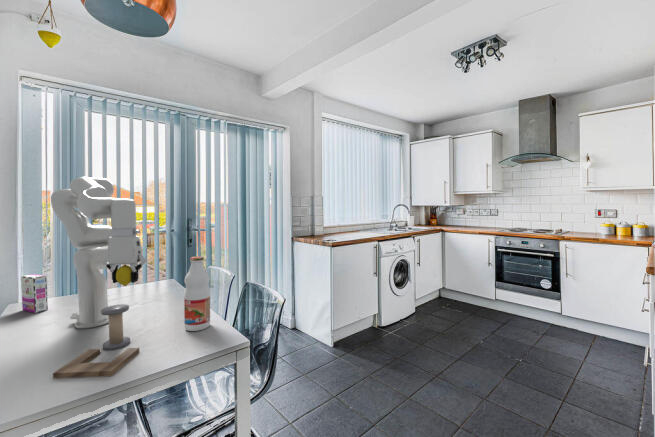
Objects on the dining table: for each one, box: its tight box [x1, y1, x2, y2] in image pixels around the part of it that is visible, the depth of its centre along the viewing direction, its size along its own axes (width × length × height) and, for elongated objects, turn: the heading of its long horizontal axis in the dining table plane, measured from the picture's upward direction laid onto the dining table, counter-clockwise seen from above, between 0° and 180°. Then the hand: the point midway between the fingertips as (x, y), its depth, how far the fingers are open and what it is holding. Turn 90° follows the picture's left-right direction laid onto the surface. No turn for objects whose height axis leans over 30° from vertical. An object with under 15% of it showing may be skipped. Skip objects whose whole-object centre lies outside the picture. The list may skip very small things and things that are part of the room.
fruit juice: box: [183, 255, 211, 332], centre depth 119 cm, size 9×9×28 cm
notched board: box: [52, 347, 140, 379], centre depth 93 cm, size 16×14×2 cm
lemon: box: [116, 264, 132, 287], centre depth 110 cm, size 6×6×8 cm
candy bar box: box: [20, 273, 49, 314], centre depth 140 cm, size 11×5×16 cm, turn 68°
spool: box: [101, 303, 131, 351], centre depth 105 cm, size 8×8×13 cm
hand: (125, 281), depth 110 cm, fingers closed on lemon, 5 cm apart
